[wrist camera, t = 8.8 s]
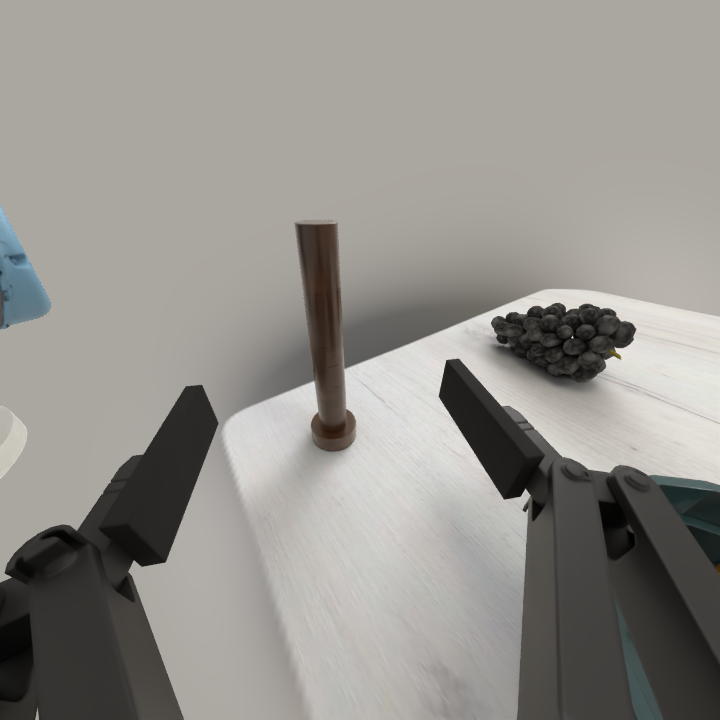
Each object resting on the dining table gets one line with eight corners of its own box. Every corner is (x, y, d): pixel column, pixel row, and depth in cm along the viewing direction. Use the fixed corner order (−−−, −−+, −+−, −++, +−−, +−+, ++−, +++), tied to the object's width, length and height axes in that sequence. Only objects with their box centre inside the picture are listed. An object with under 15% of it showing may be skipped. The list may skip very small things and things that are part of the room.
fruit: (494, 278, 34) (645, 315, 23) (523, 288, 39) (660, 323, 28) (467, 339, 37) (588, 397, 26) (497, 341, 42) (610, 392, 31)
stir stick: (313, 454, 22) (276, 226, 13) (312, 420, 26) (282, 219, 16) (359, 447, 23) (356, 225, 13) (352, 415, 26) (346, 217, 17)
